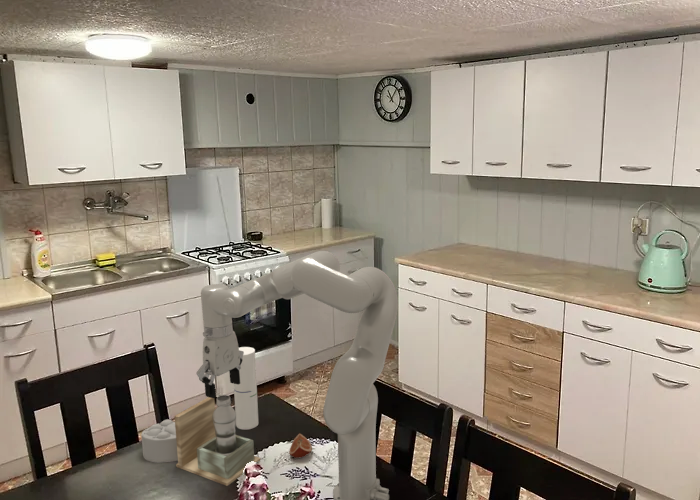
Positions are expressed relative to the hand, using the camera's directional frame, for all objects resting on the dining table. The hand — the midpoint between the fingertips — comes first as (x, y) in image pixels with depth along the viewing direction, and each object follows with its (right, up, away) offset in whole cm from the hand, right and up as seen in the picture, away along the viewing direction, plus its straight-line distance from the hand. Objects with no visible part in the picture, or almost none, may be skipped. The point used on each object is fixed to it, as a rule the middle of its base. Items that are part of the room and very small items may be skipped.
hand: (223, 390), depth 157 cm
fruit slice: (+20, -22, +10) cm, 31 cm away
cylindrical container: (+1, -18, +29) cm, 34 cm away
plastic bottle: (0, -22, +4) cm, 23 cm away
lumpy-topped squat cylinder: (-20, -22, +12) cm, 32 cm away
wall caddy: (-3, -22, +6) cm, 23 cm away
